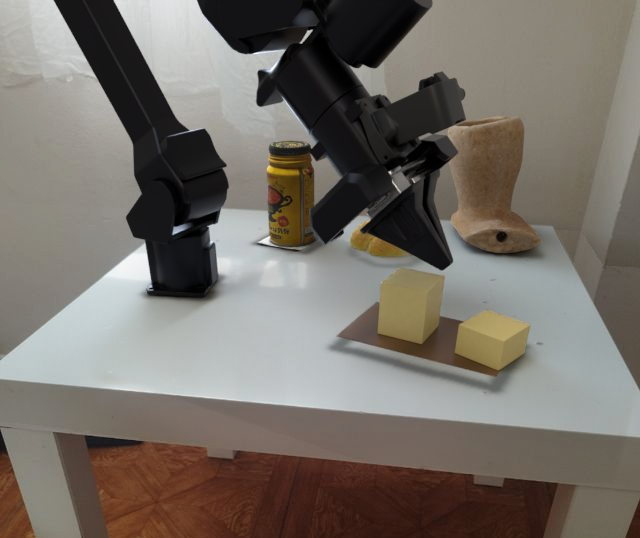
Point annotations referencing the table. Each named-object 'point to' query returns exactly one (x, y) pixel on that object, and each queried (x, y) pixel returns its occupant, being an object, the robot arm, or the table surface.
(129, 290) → the table surface
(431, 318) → the butter block
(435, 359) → the board
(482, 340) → the butter pat
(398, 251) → the bread roll
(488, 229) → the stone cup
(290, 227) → the condiment
